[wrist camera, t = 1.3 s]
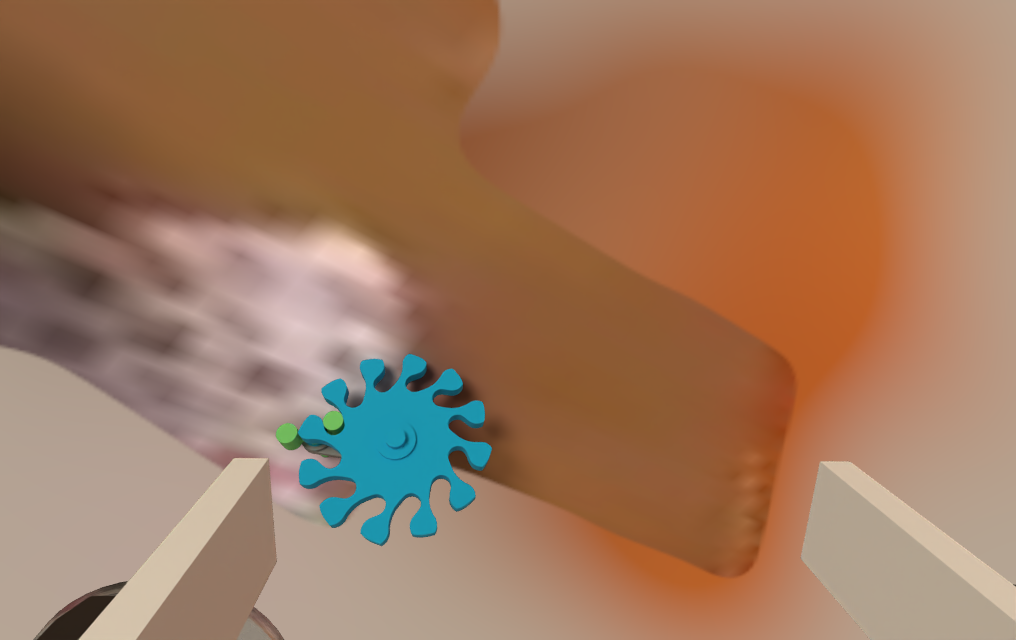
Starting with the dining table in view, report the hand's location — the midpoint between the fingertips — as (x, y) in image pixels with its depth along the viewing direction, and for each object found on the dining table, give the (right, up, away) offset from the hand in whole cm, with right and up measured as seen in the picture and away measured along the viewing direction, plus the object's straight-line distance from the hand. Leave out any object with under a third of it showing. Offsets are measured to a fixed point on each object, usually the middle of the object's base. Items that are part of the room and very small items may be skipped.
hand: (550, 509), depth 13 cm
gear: (-8, -1, +20) cm, 21 cm away
